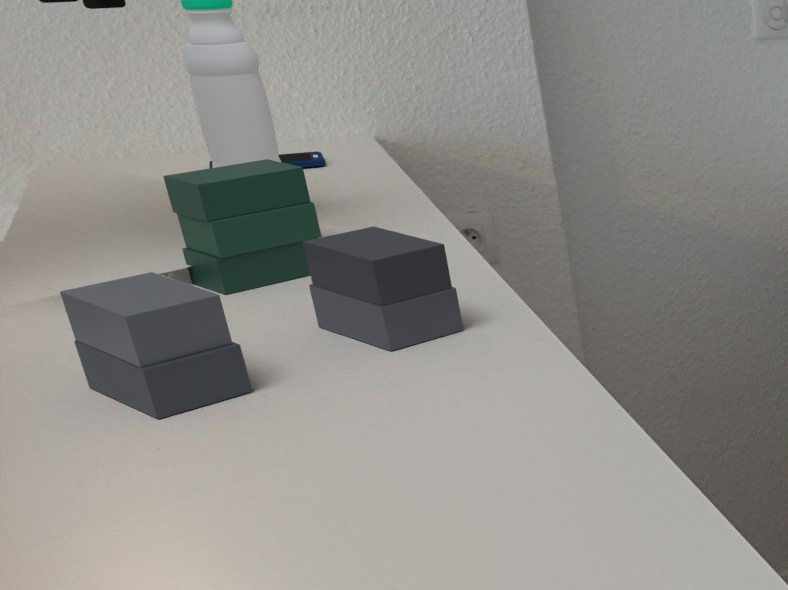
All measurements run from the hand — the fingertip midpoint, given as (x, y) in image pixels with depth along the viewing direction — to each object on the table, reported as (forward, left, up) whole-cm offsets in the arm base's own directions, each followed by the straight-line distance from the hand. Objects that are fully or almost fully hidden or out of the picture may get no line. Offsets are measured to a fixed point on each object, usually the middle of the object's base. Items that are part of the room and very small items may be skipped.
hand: (82, 4), depth 115 cm
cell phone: (+34, +44, -25) cm, 61 cm away
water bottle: (+16, +12, -25) cm, 32 cm away
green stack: (+5, -8, -25) cm, 27 cm away
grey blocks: (-6, -33, -25) cm, 42 cm away
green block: (+6, -8, -18) cm, 21 cm away
